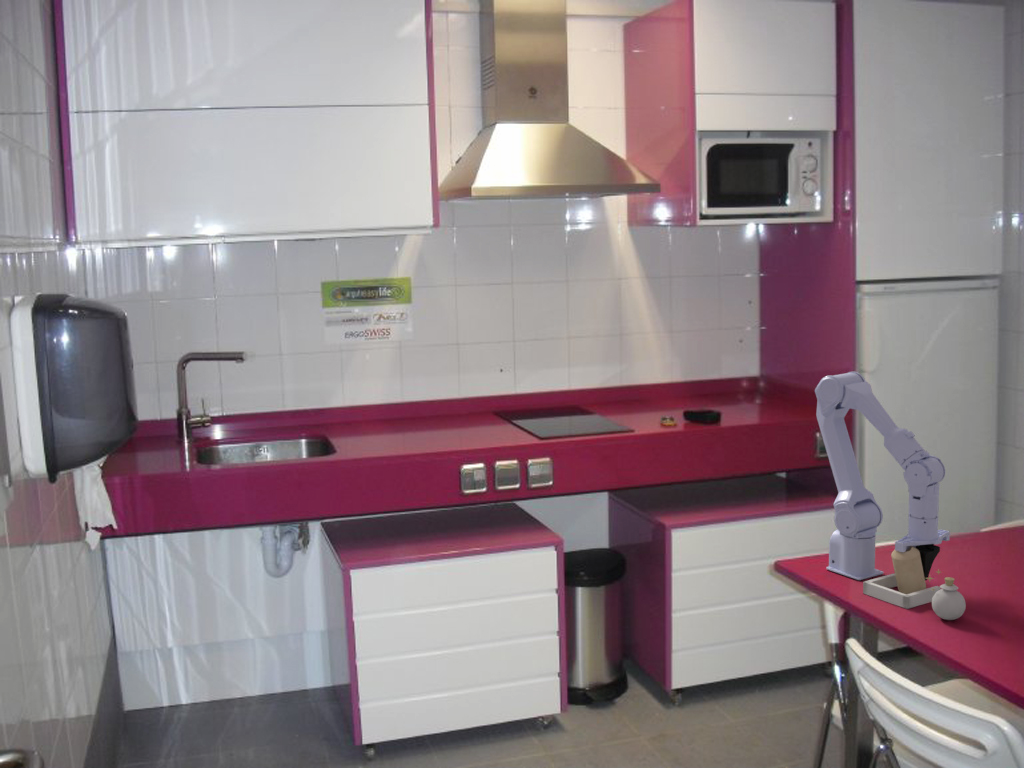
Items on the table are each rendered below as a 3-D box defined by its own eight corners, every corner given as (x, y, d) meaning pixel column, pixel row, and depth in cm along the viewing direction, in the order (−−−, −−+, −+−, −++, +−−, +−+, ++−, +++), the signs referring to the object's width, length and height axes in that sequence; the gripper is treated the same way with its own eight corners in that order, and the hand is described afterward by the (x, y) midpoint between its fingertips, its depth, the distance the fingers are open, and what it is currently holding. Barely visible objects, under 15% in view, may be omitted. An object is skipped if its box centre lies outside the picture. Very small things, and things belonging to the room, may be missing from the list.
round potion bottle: (967, 625, 197) (969, 575, 196) (925, 623, 199) (927, 573, 198) (962, 614, 203) (963, 564, 202) (921, 612, 205) (922, 563, 203)
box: (863, 593, 216) (863, 581, 216) (895, 584, 221) (896, 572, 221) (907, 609, 207) (907, 596, 206) (940, 599, 211) (940, 587, 211)
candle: (899, 597, 214) (890, 555, 211) (897, 583, 219) (889, 542, 216) (927, 595, 212) (919, 552, 209) (925, 581, 217) (917, 538, 214)
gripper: (916, 525, 207) (914, 591, 209) (963, 514, 215) (961, 577, 216) (887, 518, 213) (885, 581, 215) (934, 507, 221) (932, 568, 223)
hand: (921, 579), depth 216 cm, fingers closed
